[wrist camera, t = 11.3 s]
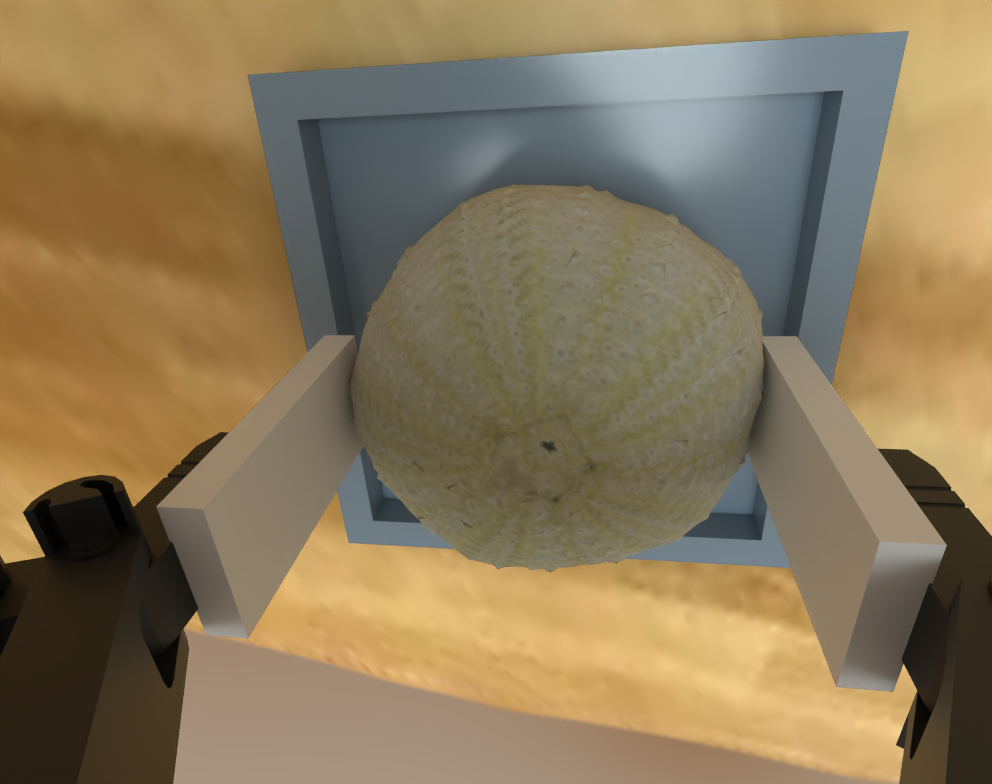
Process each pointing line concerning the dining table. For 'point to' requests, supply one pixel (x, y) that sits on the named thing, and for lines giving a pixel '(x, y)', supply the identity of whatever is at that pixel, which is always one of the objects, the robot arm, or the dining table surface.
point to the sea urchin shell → (559, 378)
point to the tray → (604, 166)
